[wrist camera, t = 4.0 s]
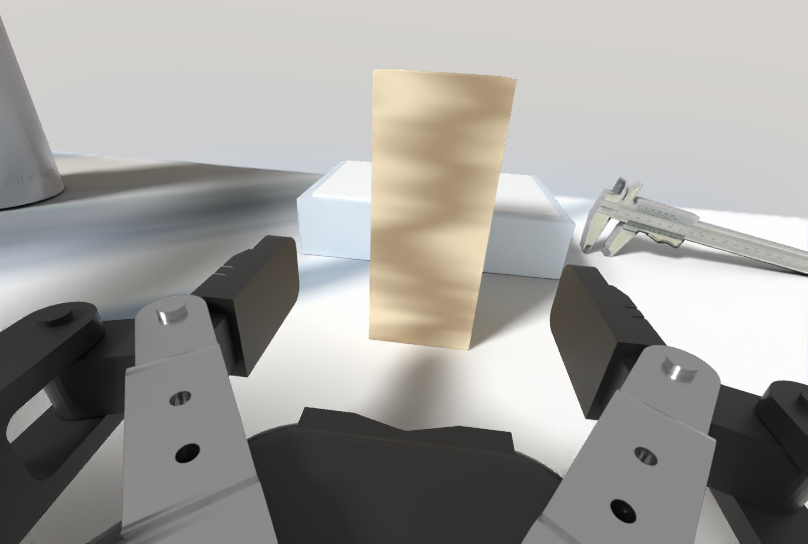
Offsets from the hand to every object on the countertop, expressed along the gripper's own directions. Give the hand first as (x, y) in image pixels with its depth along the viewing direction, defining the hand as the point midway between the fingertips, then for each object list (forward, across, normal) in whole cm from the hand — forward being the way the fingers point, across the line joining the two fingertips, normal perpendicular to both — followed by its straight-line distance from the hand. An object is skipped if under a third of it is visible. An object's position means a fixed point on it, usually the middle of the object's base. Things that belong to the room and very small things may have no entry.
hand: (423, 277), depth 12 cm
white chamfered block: (+19, 0, +7) cm, 20 cm away
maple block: (+8, 0, +7) cm, 10 cm away
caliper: (+18, -22, +7) cm, 30 cm away
